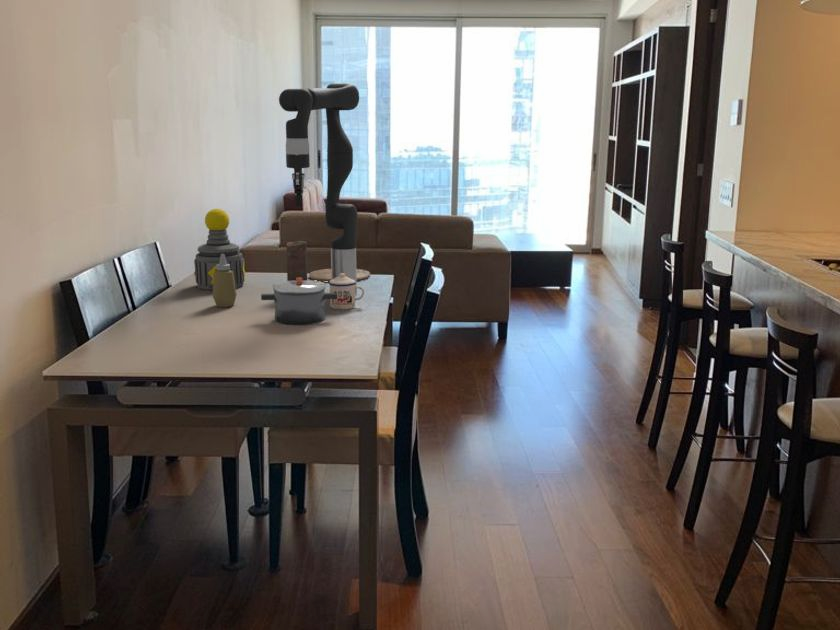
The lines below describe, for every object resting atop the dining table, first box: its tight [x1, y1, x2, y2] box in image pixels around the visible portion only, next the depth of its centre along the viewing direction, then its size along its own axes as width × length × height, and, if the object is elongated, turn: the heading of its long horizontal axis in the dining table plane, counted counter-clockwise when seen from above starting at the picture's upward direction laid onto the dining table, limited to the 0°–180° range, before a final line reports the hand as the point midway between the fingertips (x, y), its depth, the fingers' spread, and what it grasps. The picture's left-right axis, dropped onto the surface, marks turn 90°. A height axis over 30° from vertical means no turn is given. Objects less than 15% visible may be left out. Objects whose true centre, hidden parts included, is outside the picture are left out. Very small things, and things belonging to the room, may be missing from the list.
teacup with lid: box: [328, 273, 365, 310], centre depth 276 cm, size 12×9×12 cm
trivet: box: [308, 268, 371, 283], centre depth 332 cm, size 25×25×2 cm
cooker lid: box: [272, 277, 326, 294], centre depth 257 cm, size 17×17×3 cm
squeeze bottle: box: [212, 254, 237, 308], centre depth 277 cm, size 8×8×18 cm
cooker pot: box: [260, 289, 337, 326], centre depth 259 cm, size 16×24×10 cm, turn 95°
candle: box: [286, 240, 308, 281], centre depth 293 cm, size 8×7×20 cm
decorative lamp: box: [193, 208, 246, 291], centre depth 310 cm, size 19×19×30 cm
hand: (299, 206), depth 264 cm, fingers closed
